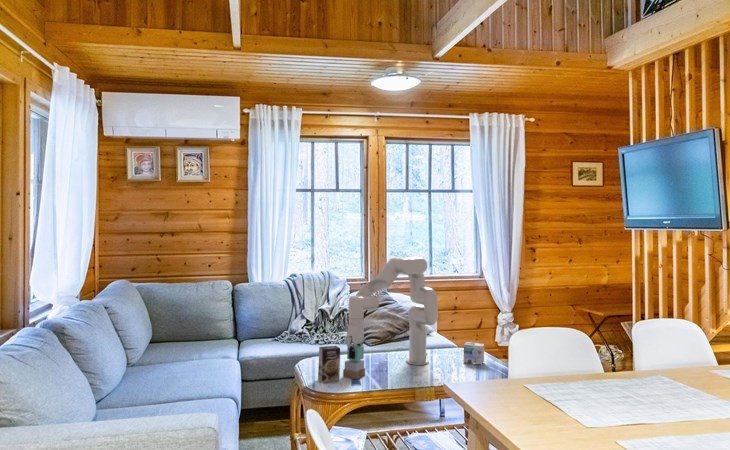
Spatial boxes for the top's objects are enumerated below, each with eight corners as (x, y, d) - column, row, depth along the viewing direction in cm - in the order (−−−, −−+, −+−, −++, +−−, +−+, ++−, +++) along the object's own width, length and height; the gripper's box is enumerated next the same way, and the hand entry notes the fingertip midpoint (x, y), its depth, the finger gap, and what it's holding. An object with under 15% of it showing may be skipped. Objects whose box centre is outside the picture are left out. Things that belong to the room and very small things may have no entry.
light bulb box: (463, 363, 274) (463, 344, 274) (465, 360, 280) (465, 341, 280) (482, 365, 270) (482, 346, 270) (484, 362, 276) (484, 343, 276)
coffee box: (321, 383, 232) (322, 349, 232) (317, 379, 238) (318, 346, 238) (339, 381, 235) (340, 348, 236) (335, 377, 241) (336, 345, 242)
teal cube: (353, 356, 249) (353, 344, 249) (363, 358, 246) (363, 346, 246) (347, 359, 243) (347, 347, 244) (357, 360, 241) (357, 348, 241)
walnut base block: (351, 373, 250) (351, 365, 250) (364, 376, 246) (365, 368, 246) (343, 377, 243) (343, 369, 243) (356, 380, 239) (356, 372, 239)
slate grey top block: (352, 366, 249) (352, 358, 249) (363, 368, 246) (364, 360, 246) (344, 369, 243) (344, 361, 243) (356, 371, 240) (356, 363, 240)
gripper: (358, 317, 254) (357, 352, 254) (340, 322, 239) (339, 359, 239) (370, 319, 251) (370, 354, 250) (353, 324, 235) (353, 362, 235)
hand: (355, 356), depth 245 cm, fingers closed on teal cube, 6 cm apart
